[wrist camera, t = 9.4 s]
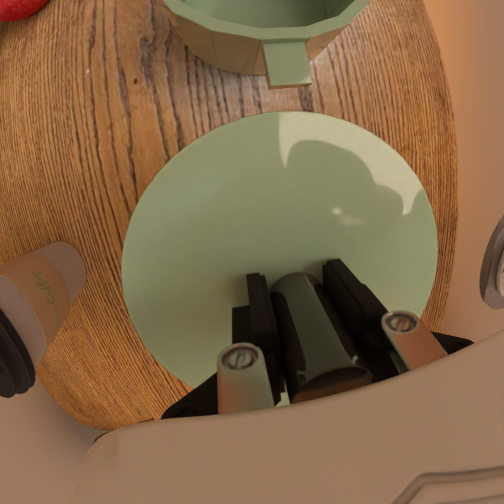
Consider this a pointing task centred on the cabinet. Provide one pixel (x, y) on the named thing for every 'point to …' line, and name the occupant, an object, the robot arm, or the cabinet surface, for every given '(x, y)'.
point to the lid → (276, 244)
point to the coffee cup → (34, 309)
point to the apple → (19, 9)
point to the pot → (262, 34)
